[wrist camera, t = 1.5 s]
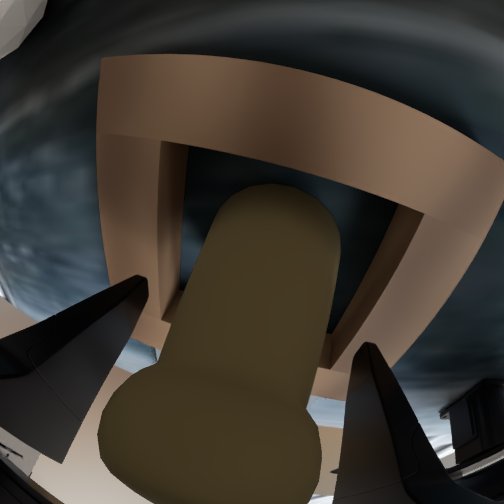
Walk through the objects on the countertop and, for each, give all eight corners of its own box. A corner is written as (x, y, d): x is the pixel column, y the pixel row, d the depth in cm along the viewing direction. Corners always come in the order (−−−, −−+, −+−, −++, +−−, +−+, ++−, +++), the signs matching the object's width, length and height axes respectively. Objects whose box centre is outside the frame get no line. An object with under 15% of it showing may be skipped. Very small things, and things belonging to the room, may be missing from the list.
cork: (186, 229, 13) (39, 435, 4) (288, 155, 10) (134, 510, 1) (263, 312, 15) (200, 515, 6) (364, 265, 12) (371, 534, 3)
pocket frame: (483, 151, 8) (515, 169, 6) (355, 370, 16) (355, 402, 14) (139, 58, 9) (101, 57, 7) (139, 307, 18) (121, 333, 16)
